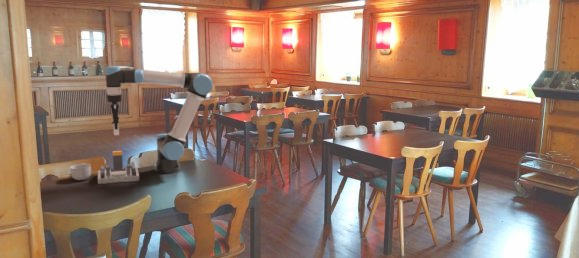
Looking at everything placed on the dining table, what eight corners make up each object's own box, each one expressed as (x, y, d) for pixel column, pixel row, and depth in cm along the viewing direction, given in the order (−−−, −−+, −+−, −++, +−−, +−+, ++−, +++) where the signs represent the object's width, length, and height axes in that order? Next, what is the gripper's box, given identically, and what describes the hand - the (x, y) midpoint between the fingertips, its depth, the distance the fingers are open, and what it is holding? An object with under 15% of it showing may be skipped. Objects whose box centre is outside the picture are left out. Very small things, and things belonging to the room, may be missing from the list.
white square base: (134, 167, 284) (134, 161, 283) (136, 176, 267) (136, 170, 266) (100, 170, 277) (100, 164, 277) (100, 178, 260) (100, 172, 259)
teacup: (86, 182, 264) (85, 168, 262) (67, 181, 264) (66, 167, 262) (96, 175, 277) (96, 162, 276) (78, 174, 278) (77, 161, 276)
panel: (137, 172, 285) (136, 160, 283) (139, 180, 268) (138, 168, 267) (98, 175, 277) (97, 163, 275) (98, 184, 260) (97, 171, 259)
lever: (125, 170, 274) (124, 150, 272) (125, 171, 272) (124, 151, 270) (110, 171, 271) (109, 151, 269) (110, 172, 270) (109, 152, 267)
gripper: (106, 92, 267) (108, 129, 271) (106, 97, 244) (109, 137, 248) (120, 91, 269) (122, 128, 273) (122, 96, 247) (124, 136, 251)
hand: (116, 132), depth 261 cm, fingers open, 12 cm apart
